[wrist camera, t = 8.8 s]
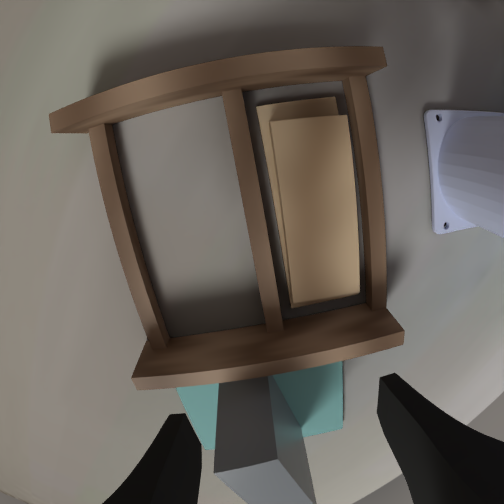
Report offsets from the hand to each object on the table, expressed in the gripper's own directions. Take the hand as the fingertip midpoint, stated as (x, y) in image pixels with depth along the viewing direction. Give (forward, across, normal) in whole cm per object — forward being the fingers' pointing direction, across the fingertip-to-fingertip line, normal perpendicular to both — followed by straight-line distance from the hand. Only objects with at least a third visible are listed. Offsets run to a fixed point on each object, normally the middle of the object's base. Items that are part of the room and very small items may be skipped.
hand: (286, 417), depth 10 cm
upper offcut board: (+10, -4, -5) cm, 11 cm away
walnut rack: (+10, 0, -5) cm, 11 cm away
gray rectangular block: (+9, +2, +9) cm, 13 cm away
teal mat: (+10, +2, +9) cm, 14 cm away
